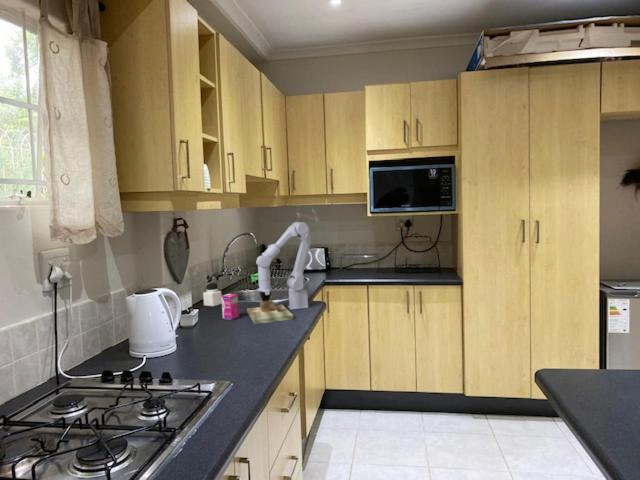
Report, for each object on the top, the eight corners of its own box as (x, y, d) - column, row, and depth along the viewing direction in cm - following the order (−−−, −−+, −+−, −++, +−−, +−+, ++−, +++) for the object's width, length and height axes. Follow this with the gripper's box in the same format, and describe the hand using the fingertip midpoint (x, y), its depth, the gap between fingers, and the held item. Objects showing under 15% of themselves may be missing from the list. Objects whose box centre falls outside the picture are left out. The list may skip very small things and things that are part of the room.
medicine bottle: (222, 303, 256) (220, 282, 255) (213, 306, 250) (211, 284, 249) (213, 302, 260) (211, 281, 258) (203, 305, 254) (202, 283, 252)
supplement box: (222, 319, 221) (220, 296, 220) (230, 316, 226) (228, 293, 225) (232, 320, 218) (230, 296, 217) (239, 317, 223) (238, 294, 222)
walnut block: (272, 308, 230) (272, 300, 230) (274, 310, 225) (274, 302, 224) (260, 309, 229) (260, 301, 228) (262, 312, 223) (262, 304, 223)
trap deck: (282, 308, 237) (282, 304, 237) (293, 319, 214) (293, 315, 214) (247, 312, 232) (247, 308, 232) (254, 324, 209) (254, 319, 209)
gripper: (254, 278, 236) (255, 304, 237) (258, 282, 222) (260, 310, 223) (267, 276, 238) (269, 302, 239) (273, 281, 224) (274, 308, 225)
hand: (266, 306), depth 231 cm, fingers closed
